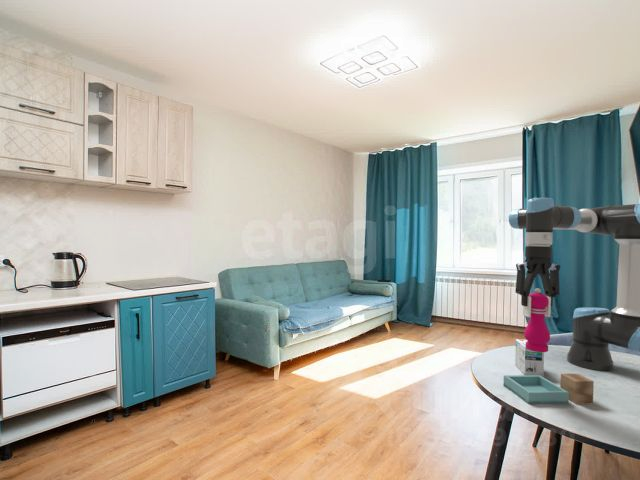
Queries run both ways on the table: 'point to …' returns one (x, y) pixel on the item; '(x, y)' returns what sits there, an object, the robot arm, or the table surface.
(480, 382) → the table surface
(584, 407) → the table surface
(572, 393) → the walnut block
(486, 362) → the table surface
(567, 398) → the tray
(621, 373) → the table surface
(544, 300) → the pepper mill
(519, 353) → the light bulb box
